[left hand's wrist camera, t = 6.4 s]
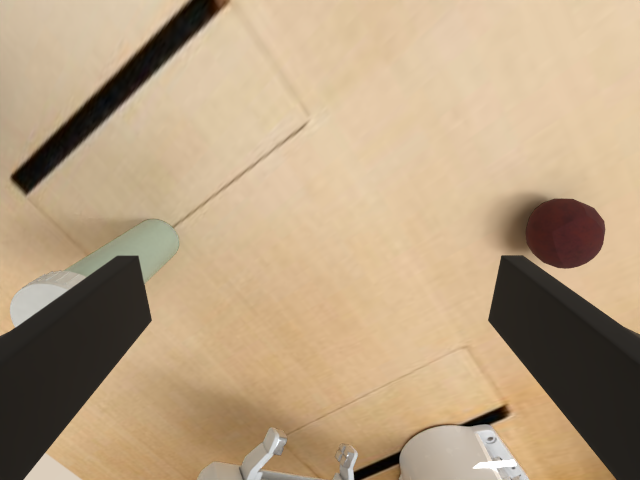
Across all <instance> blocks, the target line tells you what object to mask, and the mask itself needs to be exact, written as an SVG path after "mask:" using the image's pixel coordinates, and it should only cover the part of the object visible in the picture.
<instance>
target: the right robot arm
mask: <svg viewBox="0 0 640 480" xmlns="http://www.w3.org/2000/svg"><path fill="white" fill-rule="evenodd" d="M286 442H287V435H286V434H285V433H284V430H280V429H276V428H272V427H270V428H269V430H268V432H267V434H266V436H265V439H264V441H263V443H262V442H261V443H260V444H259V445H258V446H257V447H256V448H254V449H253V450H252V451H251V452H250V453H249V454H248V455H246V456H245V458H244V461H243V463H242V465H235V464H229V463H223V462H217V461H214V462H212V463H210V464H209V465H208V466H206V467H205V468H204V469H202V471H201V472H200V474H199V476H198V478H197V480H327V479H321V478H315V477H309V476H303V475H297V474H290V473H284V472H278V471H272V470H266V469H261V468H262V467H263V466H264V465H265V463H266V462H267V461H268V460H269V459H270V458H271V457H272V456H273V454H274V455H281V454H282V451H283V446H284V445H286ZM357 456H358V453H357V451H356V450H355V448H354V447H353V446H352V445H347V444H343V443H342V444H340V445H339V450H338V451H337V453H336V455H335V458H336V459H337V460H338V461H339V462H340V474H339V473H335V475H334V478H333V480H354V473H353V466H354V464H355V461H356V459H357ZM399 464H400V469H401V475H400V477H399V480H529V478H528V476H527V474H526V473H525V471H524V470H523V468H522V467H521V466H520V464H519V463H518V461H517V460H516V459H515V457H514V456H513V455H512V453H511V452H510V450H509V449H508V448H507V446H506V445H505V444H504V442H503V441H502V439H501V438H500V437H499V435H498V434H497V433H496V431H495V430H494V429H493V427H492V426H491V425H488V424H483V425H476V426H471V427H466V426H457V425H445V426H438V427H434V428H430V429H427V430H425V431H423V432H421V433H419V434H417V435H416V436H414V437H413V438H412V439H410V440H409V441H408V442H407V444H406V445H405V446H404V448H403V449H402V451H401V454H400V458H399Z"/></svg>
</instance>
